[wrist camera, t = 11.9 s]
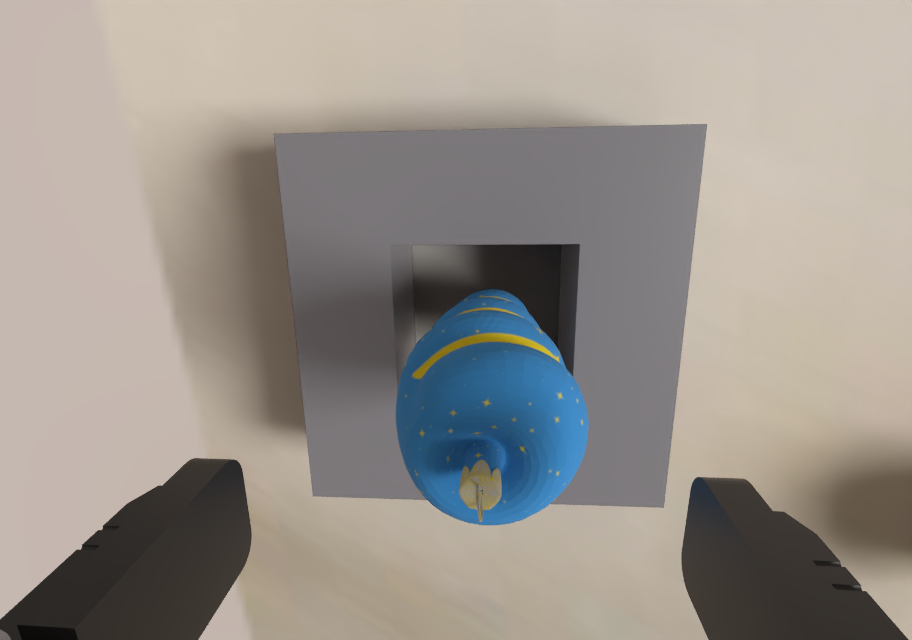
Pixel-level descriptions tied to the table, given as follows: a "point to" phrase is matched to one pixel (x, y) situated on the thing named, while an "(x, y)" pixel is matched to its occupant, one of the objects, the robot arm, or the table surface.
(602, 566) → the table surface
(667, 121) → the table surface
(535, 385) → the ornament
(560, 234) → the socket block
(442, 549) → the table surface
